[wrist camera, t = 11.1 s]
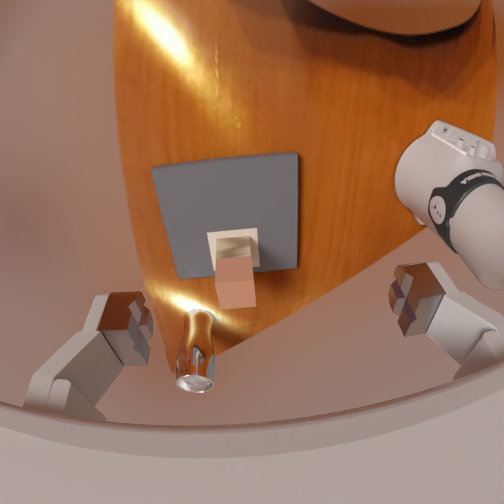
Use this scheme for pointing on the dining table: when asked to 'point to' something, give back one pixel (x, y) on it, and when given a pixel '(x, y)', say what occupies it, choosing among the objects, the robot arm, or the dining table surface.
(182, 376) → the beer glass
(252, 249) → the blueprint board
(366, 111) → the dining table surface
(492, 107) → the dining table surface
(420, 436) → the robot arm
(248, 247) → the maple block
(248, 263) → the terracotta block
